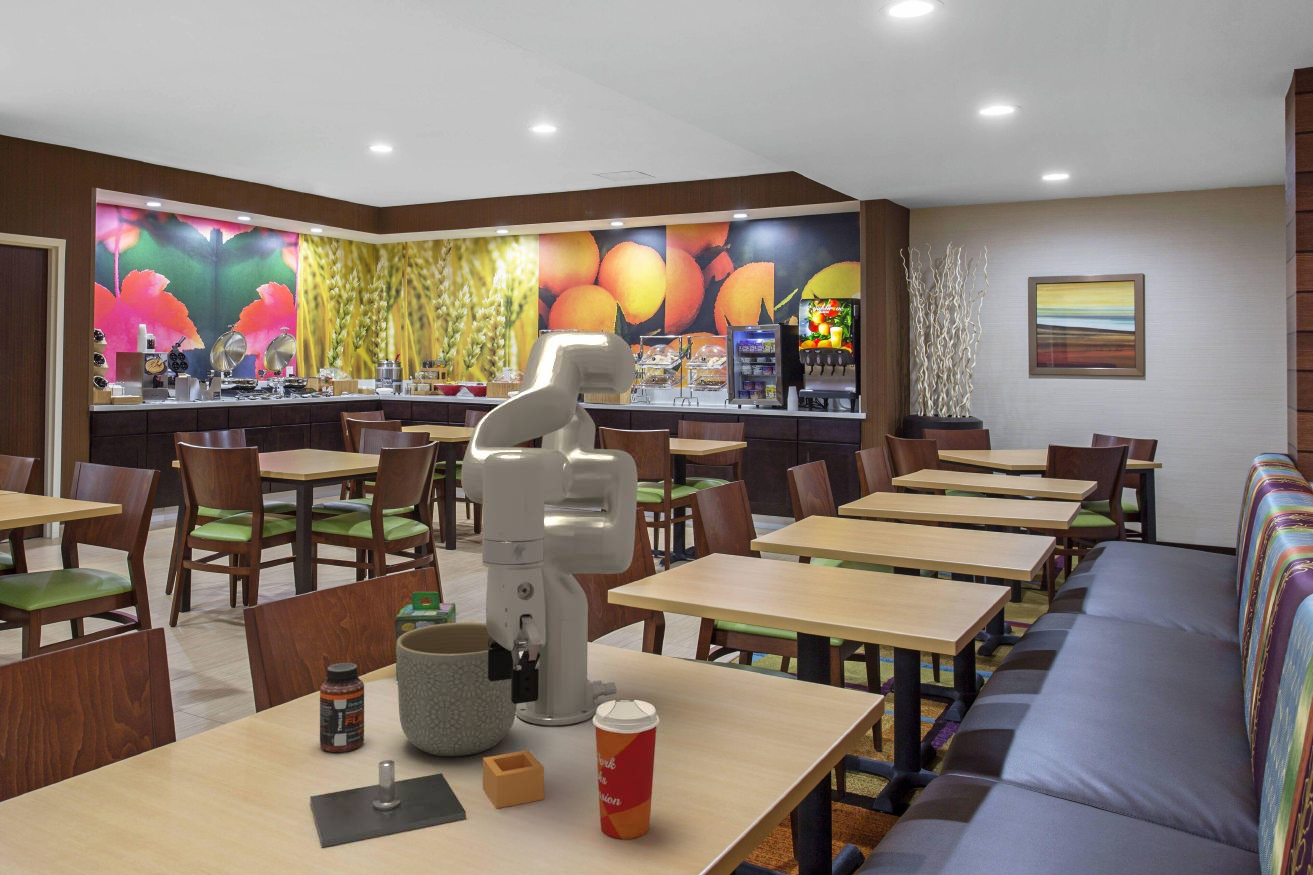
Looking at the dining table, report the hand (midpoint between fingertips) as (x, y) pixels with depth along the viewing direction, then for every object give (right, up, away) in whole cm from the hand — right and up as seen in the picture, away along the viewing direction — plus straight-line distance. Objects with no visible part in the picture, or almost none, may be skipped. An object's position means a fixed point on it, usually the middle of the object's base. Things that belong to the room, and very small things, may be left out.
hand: (512, 690), depth 114 cm
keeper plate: (-14, -13, -4) cm, 20 cm away
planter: (-10, -13, +17) cm, 24 cm away
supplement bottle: (-26, -12, +16) cm, 33 cm away
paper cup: (+14, -14, -7) cm, 21 cm away
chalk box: (-23, -11, +49) cm, 55 cm away
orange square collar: (0, -13, +1) cm, 13 cm away
